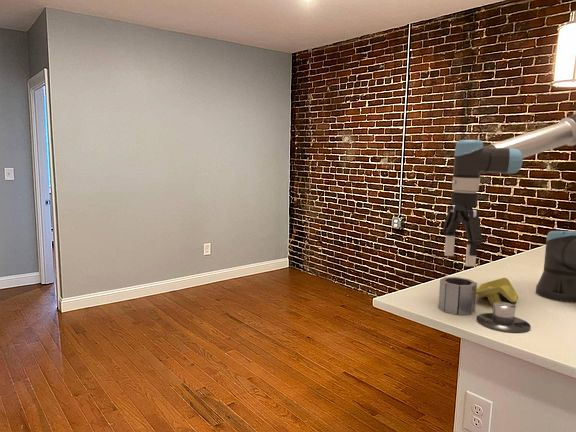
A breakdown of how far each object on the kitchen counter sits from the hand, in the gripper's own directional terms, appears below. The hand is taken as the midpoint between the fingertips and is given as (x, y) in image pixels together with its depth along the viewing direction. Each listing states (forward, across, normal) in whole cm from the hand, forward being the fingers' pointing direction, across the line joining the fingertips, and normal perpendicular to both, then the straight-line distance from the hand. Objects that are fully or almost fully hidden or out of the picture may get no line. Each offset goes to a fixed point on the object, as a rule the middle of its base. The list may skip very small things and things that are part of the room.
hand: (459, 260), depth 135 cm
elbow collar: (+16, 0, 0) cm, 16 cm away
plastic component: (+16, -9, +18) cm, 26 cm away
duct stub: (+16, +12, +8) cm, 21 cm away
